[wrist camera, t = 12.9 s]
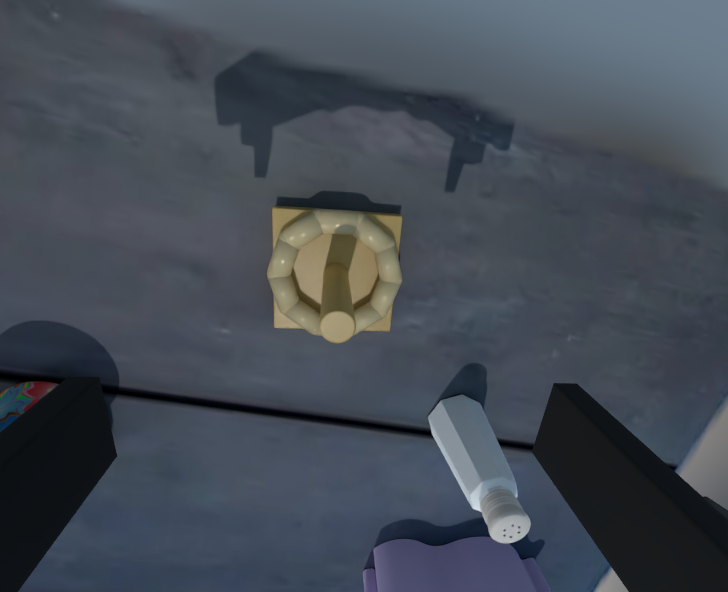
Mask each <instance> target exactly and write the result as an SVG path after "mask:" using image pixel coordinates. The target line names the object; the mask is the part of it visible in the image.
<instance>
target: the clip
mask: <svg viewBox="0 0 728 592" xmlns="http://www.w3.org/2000/svg"><path fill="white" fill-rule="evenodd" d="M373 551H374V560H375V570H376V572H375V570H374V569H372V568H370V569H365V570H364V571H363V579H364V592H551V590H550V588H549V586H548V584H547V582H546V580H545V578H544V576H543V574H542V573H541V571H540V569H539V567H538V565H537V563H536V561H535V559H534V558H532V557H531V558H527V559H524V560H521V559H520V557H519V555H518V553H517V551H516V550H515V549H514V548H513V547H512V546H511V545H510V544H508V543H506V544H505V543H499V542H497V541H495V540H494V539H492V538H491V537H469V538H464V539H460V540H457V541H454V542H451V543H449V544H446V545H442V546H430V545H426V544H424V543H422V542H420V541H417V540H412V539H396V540H391V541H388V542H385V543H382V544H380V545H378V546H377V547H375V548H374V550H373Z"/></svg>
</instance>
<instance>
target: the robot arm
mask: <svg viewBox="0 0 728 592" xmlns="http://www.w3.org/2000/svg"><path fill="white" fill-rule="evenodd" d="M532 453H533V454H534V456H535V457H536V459H537V460H538V461H539V463H540V464H541V466H542V467H543V469H544V470H545V472H546V473H547V474H548V476H549V477H550V479H551V480H552V482H553V483H554V485H555V486H556V487H557V489H558V490H559V492H560V493H561V495H562V496H563V498H564V499H565V500H566V502H567V503H568V505H569V506H570V508H571V509H572V510H573V512H574V513H575V515H576V516H577V518H578V519H579V521H580V522H581V523H582V525H583V526H584V528H585V529H586V531H587V532H588V534H589V535H590V536H591V538H592V539H593V541H594V542H595V544H596V545H597V547H598V548H599V549H600V551H601V552H602V554H603V555H604V557H605V558H606V559H607V561H608V562H609V564H610V565H611V567H612V568H613V570H614V571H615V572H616V574H617V575H618V577H619V578H620V580H621V581H622V582H623V584H624V585H625V587H626V588H627V590H628V591H629V592H728V510H726V509H725V508H723V507H722V506H720V505H719V504H717V503H716V502H714V501H712V500H711V499H709V498H708V497H702V496H701V495H700V494H699V493H698V492H697V491H695V490H694V489H693V488H692V487H691V486H690V485H689V484H688V483H686V482H685V481H684V480H683V479H682V478H681V477H680V476H679V475H678V474H677V473H675V472H674V471H673V470H672V469H671V468H670V467H669V466H668V465H667V464H665V463H664V462H663V461H662V460H661V459H660V458H659V457H658V456H657V455H655V454H654V453H653V452H652V451H651V450H650V449H649V448H648V447H647V446H645V445H644V444H643V443H642V442H641V441H640V440H639V439H638V438H637V437H635V436H634V435H633V434H632V433H631V432H630V431H629V430H628V429H627V428H625V427H624V426H623V425H622V424H621V423H620V422H619V421H618V420H617V419H615V418H614V417H613V416H612V415H611V414H610V413H609V412H608V411H607V410H605V409H604V408H603V407H602V406H601V405H600V404H599V403H598V402H597V401H595V400H594V399H593V398H592V397H591V396H590V395H589V394H588V393H587V392H585V391H584V390H583V389H582V388H581V387H580V386H579V385H578V384H565V383H554V385H553V388H552V391H551V394H550V397H549V400H548V403H547V406H546V410H545V413H544V416H543V419H542V422H541V425H540V428H539V432H538V435H537V438H536V441H535V444H534V447H533V450H532ZM116 457H117V453H116V449H115V445H114V440H113V436H112V431H111V427H110V423H109V418H108V414H107V409H106V405H105V401H104V396H103V392H102V387H101V383H100V378H99V377H67V378H66V379H65V380H64V381H62V382H61V383H60V384H59V385H57V386H56V387H55V388H54V389H53V390H51V391H50V392H49V393H48V394H46V395H45V396H44V397H43V398H41V399H40V400H39V401H38V402H37V403H35V404H34V405H33V406H32V407H30V408H29V409H28V410H27V411H25V412H24V413H23V414H22V415H21V416H19V417H18V418H17V419H16V420H14V421H13V422H12V423H11V424H9V425H8V426H7V427H6V428H5V429H3V430H2V431H1V432H0V592H18V591H19V589H20V588H21V587H22V585H23V584H24V583H25V581H26V580H27V578H28V577H29V576H30V574H31V573H32V572H33V570H34V569H35V567H36V566H37V565H38V563H39V562H40V561H41V559H42V558H43V557H44V555H45V554H46V552H47V551H48V550H49V548H50V547H51V546H52V544H53V543H54V541H55V540H56V539H57V537H58V536H59V535H60V533H61V532H62V531H63V529H64V528H65V526H66V525H67V524H68V522H69V521H70V520H71V518H72V517H73V516H74V514H75V513H76V511H77V510H78V509H79V507H80V506H81V505H82V503H83V502H84V500H85V499H86V498H87V496H88V495H89V494H90V492H91V491H92V490H93V488H94V487H95V485H96V484H97V483H98V481H99V480H100V479H101V477H102V476H103V475H104V473H105V472H106V470H107V469H108V468H109V466H110V465H111V464H112V462H113V461H114V459H115V458H116Z"/></svg>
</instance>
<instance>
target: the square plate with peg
mask: <svg viewBox="0 0 728 592" xmlns="http://www.w3.org/2000/svg"><path fill="white" fill-rule="evenodd" d="M316 209H322V208H307V207H293V206H278V205H276V206H274V207H273V208H272V221H273V251H274V248H275V245H276V242H277V239H278V236H279V234H280V233H281V232H282V231H283V230H285V229H286V228H288V227H289V226H291V225H292V224H294V223H295V222H297V221H299V220H300V219H302V218H303V217H305V216H306V215H308V214H309V213H311V212H312V211H314V210H316ZM330 210H337V209H330ZM345 211H351V210H345ZM358 212H362V213H363V214H365V215H366V216H367V217H368V218H369V219H371V220H372V221H373V222H374V223H375V224H376V225H378V226H379V227H380V228H381V229H382V230H383V231H385V232H386V233H387V234H388V235H389V236H390V237H392V238H393V240H394V242H395V245H396V250H397V254H399V245H400V236H401V227H402V218H403V217H402V216H401V215H400V214H395V213H381V212H366V211H358ZM291 276H292V279H293V282H294V285H295V288H296V291H297V294H298V297H299V299H301V300H302V301H303V302H305V303H306V304H308V305H309V306H310V307H312V308H313V309H315V310H316V311H317V312H319V313H320V324H319V329H320V332H321V334H322V336H323V337H324V338H325V339H326V340H328V341H330V342H332V343H342V342H345V341H347V340H349V339H350V338H351V337H352V336H353V335H354V333H355V330H356V322H355V315H354V310H356V309H357V308H359V307H361V306H362V305H364V304H366V303H367V302H369V301H370V299H371V297H372V294H373V292H374V290H375V287H376V285H377V283H378V281H379V278H380V277H379V273H378V269H377V265H376V260H375V256H374V253H373V252H372V251H371V250H370V249H368V248H367V247H366V246H365V245H364V244H362V243H361V242H360V241H359V240H358V239H356V238H355V237H354V236H353V235H340V234H322V235H320V236H319V237H317V238H316V239H314V240H313V241H311V242H310V243H308V244H306V245H305V246H303V247H302V248H300V250H299V252H298V255H297V258H296V261H295V264H294V267H293V269H292V272H291ZM392 307H393V303H392V305H391V307H390V309H389V311H388V314H387V315H386V316H385V317H384V318H382V319H381V320H379V321H377V322H376V323H374V324H372V325H371V326H369V327H367V328H366V329H364V330H362V331H390V325H391V316H392ZM274 328H296V329H303V328H302V327H301V326H299V325H298V324H296V323H295V322H293V321H292V320H290V319H289V318H287V317H286V316H285V315H283V314H282V313H281V312H280V310H279V308H278V305H277V303H276V300H275V297H274Z"/></svg>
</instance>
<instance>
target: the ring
mask: <svg viewBox="0 0 728 592" xmlns="http://www.w3.org/2000/svg"><path fill="white" fill-rule="evenodd" d="M322 234H340V235H353V236H354V237H355V238H356V239H358V240H359V241H360V242H361V243H362V244H364V245H365V246H366V247H367V248H368V249H370V250H371V251H372V252H373V253H374V256H375V260H376V265H377V269H378V273H379V277H380V278H379V281H378V283H377V285H376V287H375V290H374V292H373V294H372V297H371V299H370V301H369V302H367V303H366V304H364V305H362V306H361V307H359V308H357V309H356V310H354V315H355V322H356V330H355V333H354V335H356V334H357V333H359V332H361V331H362V330H364V329H366V328H367V327H369V326H371V325H372V324H374V323H376V322H377V321H379V320H381V319H382V318H384V317H385V316H386V315H387V314H388V311H389V309H390V307H391V305H392V303H393V301H394V298H395V296H396V294H397V292H398V290H399V288H400V285H401V283H402V273H401V269H400V264H399V259H398V254H397V250H396V245H395V242H394V240H393V238H392V237H390V236H389V235H388V234H387V233H386V232H385V231H383V230H382V229H381V228H380V227H379V226H378V225H376V224H375V223H374V222H373V221H372V220H371V219H369V218H368V217H367V216H366V215H365V214H363V213H362V212H358V211H345V210H330V209H316V210H314V211H312V212H311V213H309V214H308V215H306V216H305V217H303V218H302V219H300V220H299V221H297V222H295V223H294V224H292V225H291V226H289V227H288V228H286V229H285V230H283V231H282V232H281V233H280V234H279V236H278V239H277V242H276V245H275V248H274V251H273V254H272V257H271V260H270V263H269V266H268V269H267V278H268V281H269V283H270V286H271V289H272V292H273V294H274V297H275V300H276V303H277V305H278V308H279V310H280V312H281V313H282V314H283V315H285V316H286V317H287V318H289V319H290V320H292V321H293V322H295V323H296V324H298V325H299V326H301V327H302V328H303V329H305V330H306V331H308V332H309V333H311V334H313V335H322V334H321V332H320V329H319V324H320V313H319V312H317V311H316V310H315V309H313V308H312V307H310V306H309V305H308V304H306V303H305V302H303V301H302V300H301V299H299V297H298V294H297V291H296V288H295V285H294V282H293V279H292V276H291V272H292V269H293V267H294V264H295V261H296V258H297V255H298V252H299V250H300V248H302V247H303V246H305V245H306V244H308V243H310V242H311V241H313V240H314V239H316V238H317V237H319V236H320V235H322ZM354 335H353V336H354Z"/></svg>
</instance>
